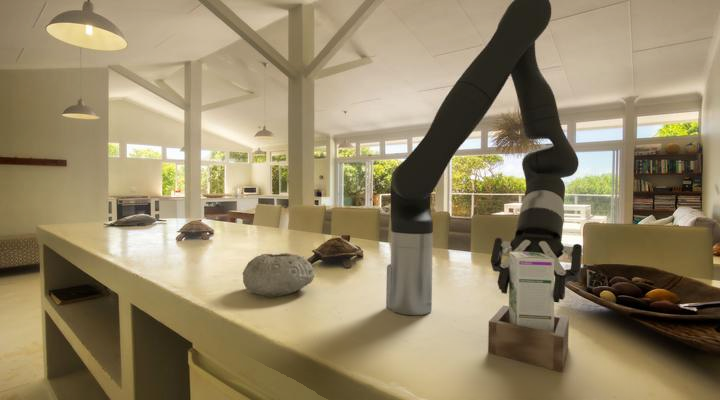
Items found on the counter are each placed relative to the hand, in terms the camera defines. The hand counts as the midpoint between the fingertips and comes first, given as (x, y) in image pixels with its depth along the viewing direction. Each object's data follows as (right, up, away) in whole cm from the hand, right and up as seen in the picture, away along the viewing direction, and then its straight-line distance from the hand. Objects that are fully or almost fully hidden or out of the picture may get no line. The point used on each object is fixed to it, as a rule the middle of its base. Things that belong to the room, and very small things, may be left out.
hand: (528, 295), depth 55 cm
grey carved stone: (-48, -9, +33) cm, 59 cm away
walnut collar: (+1, -9, +1) cm, 9 cm away
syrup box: (+1, -8, +1) cm, 8 cm away
